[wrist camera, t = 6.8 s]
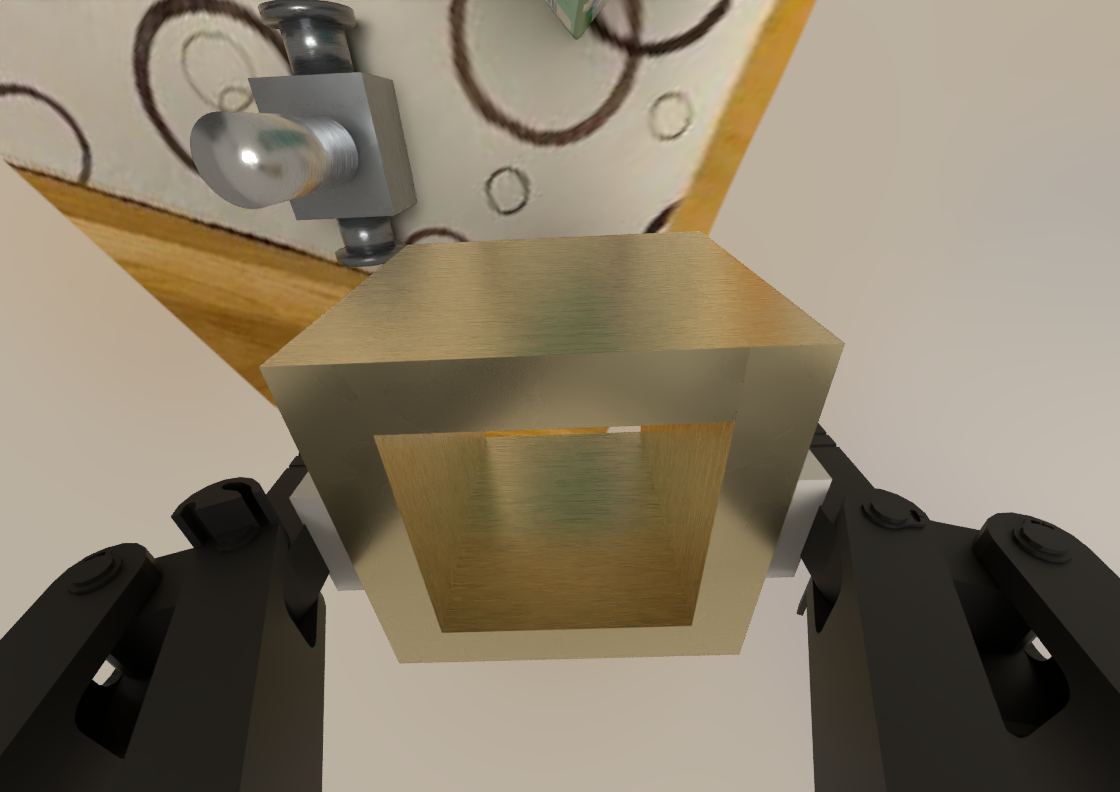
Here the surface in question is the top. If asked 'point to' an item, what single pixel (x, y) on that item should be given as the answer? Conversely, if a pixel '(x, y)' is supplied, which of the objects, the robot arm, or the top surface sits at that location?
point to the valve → (315, 137)
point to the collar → (558, 442)
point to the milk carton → (576, 13)
